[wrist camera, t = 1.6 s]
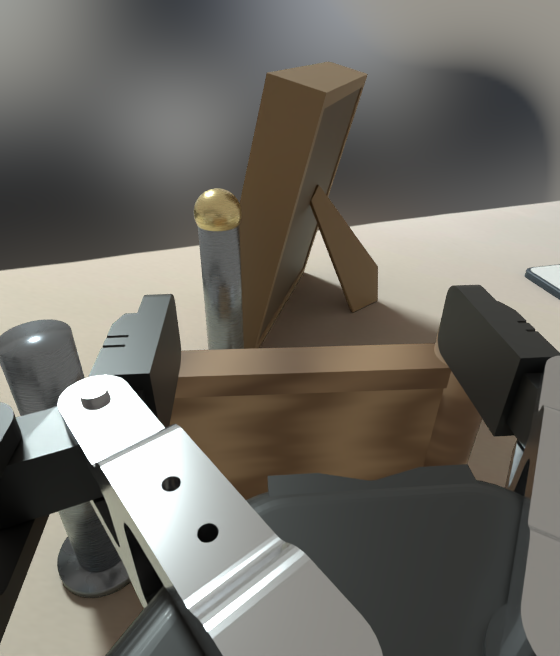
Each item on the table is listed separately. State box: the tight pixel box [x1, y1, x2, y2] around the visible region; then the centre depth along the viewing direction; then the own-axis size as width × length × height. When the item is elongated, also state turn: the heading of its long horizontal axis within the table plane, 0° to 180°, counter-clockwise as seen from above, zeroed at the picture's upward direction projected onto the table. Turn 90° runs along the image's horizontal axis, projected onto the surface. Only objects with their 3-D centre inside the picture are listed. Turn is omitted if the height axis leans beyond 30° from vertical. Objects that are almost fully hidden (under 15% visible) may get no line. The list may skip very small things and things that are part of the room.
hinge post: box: [0, 320, 131, 598], centre depth 24 cm, size 5×5×16 cm
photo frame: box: [239, 62, 378, 349], centre depth 46 cm, size 15×22×25 cm
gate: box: [169, 326, 482, 500], centre depth 25 cm, size 18×3×14 cm, turn 94°
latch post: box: [194, 188, 244, 350], centre depth 37 cm, size 5×5×18 cm
